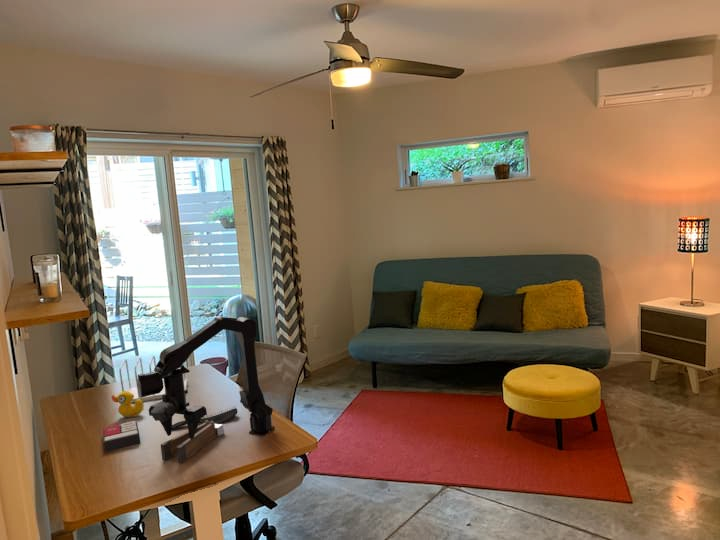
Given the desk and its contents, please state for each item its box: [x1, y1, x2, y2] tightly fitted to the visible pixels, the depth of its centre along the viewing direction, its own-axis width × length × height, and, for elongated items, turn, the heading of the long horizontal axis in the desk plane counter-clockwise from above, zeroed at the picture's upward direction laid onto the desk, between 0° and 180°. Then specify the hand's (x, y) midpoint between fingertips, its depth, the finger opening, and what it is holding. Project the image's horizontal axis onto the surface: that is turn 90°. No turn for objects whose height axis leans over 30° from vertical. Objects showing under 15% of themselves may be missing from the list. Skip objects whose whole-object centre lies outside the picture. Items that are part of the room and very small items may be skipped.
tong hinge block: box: [214, 423, 225, 438], centre depth 180 cm, size 4×3×3 cm
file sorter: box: [119, 355, 189, 404], centre depth 226 cm, size 25×17×16 cm
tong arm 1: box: [160, 420, 210, 461], centre depth 170 cm, size 1×19×6 cm, turn 148°
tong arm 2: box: [176, 421, 217, 464], centre depth 168 cm, size 1×19×6 cm, turn 162°
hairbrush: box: [172, 407, 238, 431], centre depth 191 cm, size 8×4×25 cm
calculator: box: [102, 420, 141, 453], centre depth 181 cm, size 11×4×15 cm
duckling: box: [111, 390, 144, 418], centre depth 202 cm, size 11×5×10 cm, turn 91°
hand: (180, 437), depth 165 cm, fingers open, 9 cm apart
